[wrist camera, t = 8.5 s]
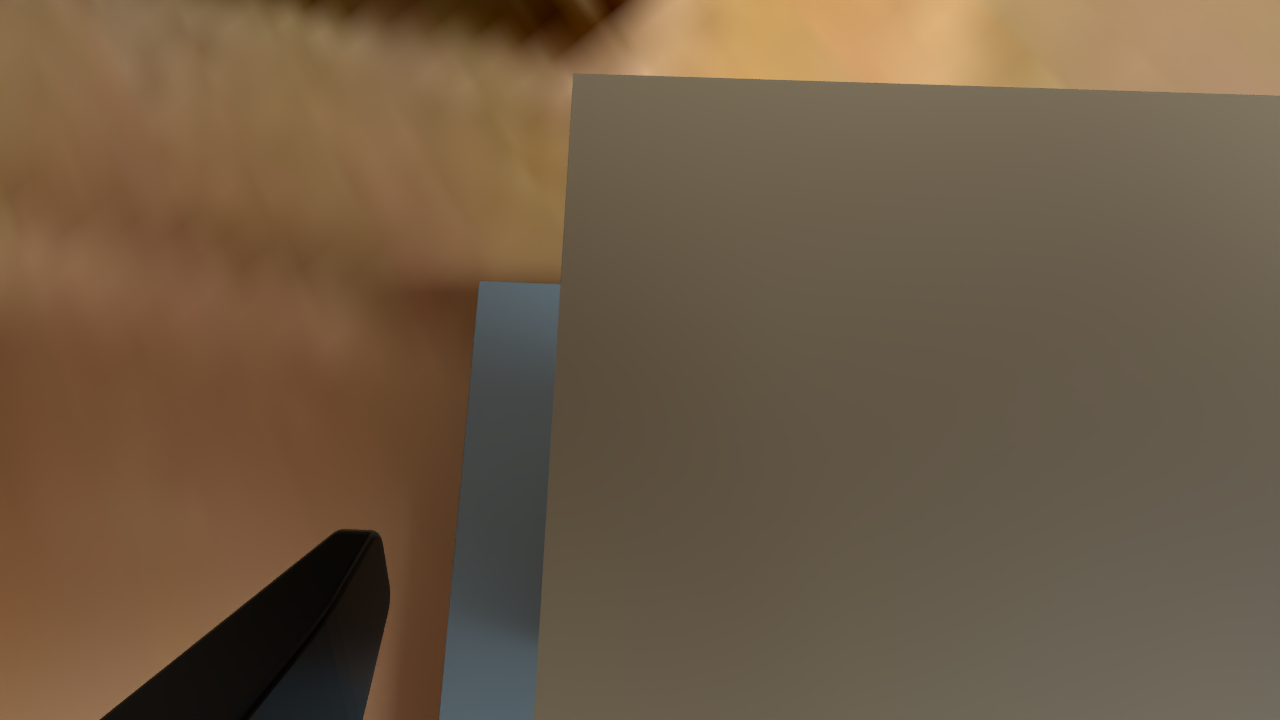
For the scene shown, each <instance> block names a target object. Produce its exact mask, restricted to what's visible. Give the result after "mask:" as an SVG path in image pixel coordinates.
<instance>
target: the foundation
mask: <svg viewBox="0 0 1280 720" xmlns="http://www.w3.org/2000/svg"><path fill="white" fill-rule="evenodd" d="M559 300H560V284H545V283H520V282H494V281H479V290H478V301H477V312H476V323H475V334H474V344H473V355H472V366H471V377H470V388H469V399H468V410H467V421H466V432H465V443H464V453H463V464H462V475H461V486H460V497H459V508H458V519H457V530H456V541H455V551H454V562H453V573H452V584H451V595H450V606H449V617H448V628H447V639H446V649H445V660H444V671H443V682H442V693H441V704H440V715H439V720H534V706H535V690H536V673H537V657H538V641H539V625H540V608H541V592H542V576H543V560H544V543H545V527H546V511H547V495H548V478H549V462H550V446H551V430H552V413H553V397H554V381H555V365H556V348H557V332H558V316H559Z"/></svg>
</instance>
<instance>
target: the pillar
mask: <svg viewBox="0 0 1280 720" xmlns="http://www.w3.org/2000/svg"><path fill="white" fill-rule="evenodd" d="M534 720H1280V96H1267V95H1236V94H1204V93H1172V92H1141V91H1109V90H1078V89H1046V88H1014V87H983V86H951V85H920V84H888V83H857V82H825V81H793V80H762V79H730V78H699V77H667V76H635V75H604V74H573V88H572V105H571V121H570V137H569V153H568V170H567V186H566V202H565V218H564V235H563V251H562V267H561V283H560V300H559V316H558V332H557V348H556V365H555V381H554V397H553V413H552V430H551V446H550V462H549V478H548V495H547V511H546V527H545V543H544V560H543V576H542V592H541V608H540V625H539V641H538V657H537V673H536V690H535V706H534Z"/></svg>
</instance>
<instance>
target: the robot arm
mask: <svg viewBox="0 0 1280 720" xmlns="http://www.w3.org/2000/svg"><path fill="white" fill-rule="evenodd" d="M389 604H390V585H389V579H388V573H387V567H386V561H385V555H384V549H383V543H382V539H381V537H380V535H379V534H378V533H377V532H375V531H373V530H356V529H341V530H338V531H336V532H334V533H333V534H331V535H330V536H329V537H327V538H326V539H325V540H324V541H322V542H321V543H320V544H319V545H317V546H316V547H315V548H314V549H312V550H311V551H310V552H309V553H307V554H306V555H305V556H304V557H302V558H301V559H300V560H299V561H297V562H296V563H295V564H294V565H292V566H291V567H290V568H289V569H287V570H286V571H285V572H284V573H282V574H281V575H280V576H279V577H277V578H276V579H275V580H274V581H272V582H271V583H270V584H269V585H267V586H266V587H265V588H264V589H262V590H261V591H260V592H259V593H257V594H256V595H255V596H254V597H252V598H251V599H250V600H249V601H247V602H246V603H245V604H244V605H242V606H241V607H240V608H239V609H237V610H236V611H235V612H234V613H232V614H231V615H230V616H229V617H227V618H226V619H225V620H224V621H222V622H221V623H220V624H219V625H217V626H216V627H215V628H214V629H212V630H211V631H210V632H209V633H207V634H206V635H205V636H204V637H202V638H201V639H200V640H199V641H197V642H196V643H195V644H194V645H192V646H191V647H190V648H189V649H187V650H186V651H185V652H184V653H182V654H181V655H180V656H179V657H177V658H176V659H175V660H174V661H172V662H171V663H170V664H169V665H167V666H166V667H165V668H164V669H162V670H161V671H160V672H159V673H157V674H156V675H155V676H154V677H152V678H151V679H150V680H149V681H147V682H146V683H145V684H144V685H142V686H141V687H140V688H139V689H137V690H136V691H135V692H134V693H132V694H131V695H130V696H129V697H127V698H126V699H125V700H124V701H122V702H121V703H120V704H119V705H117V706H116V707H115V708H114V709H112V710H111V711H110V712H109V713H107V714H106V715H105V716H104V717H102V718H101V719H100V720H363V716H364V712H365V708H366V703H367V699H368V695H369V691H370V686H371V682H372V678H373V674H374V670H375V665H376V661H377V657H378V653H379V649H380V644H381V640H382V636H383V632H384V627H385V623H386V619H387V615H388V610H389Z"/></svg>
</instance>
